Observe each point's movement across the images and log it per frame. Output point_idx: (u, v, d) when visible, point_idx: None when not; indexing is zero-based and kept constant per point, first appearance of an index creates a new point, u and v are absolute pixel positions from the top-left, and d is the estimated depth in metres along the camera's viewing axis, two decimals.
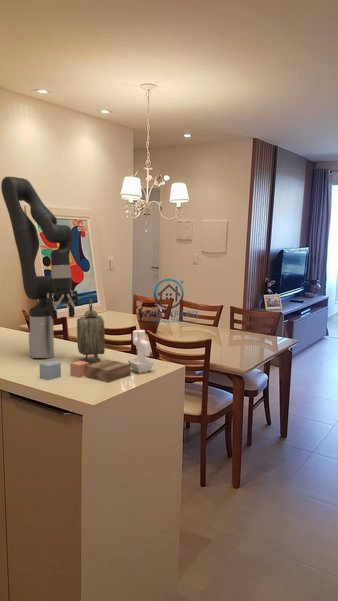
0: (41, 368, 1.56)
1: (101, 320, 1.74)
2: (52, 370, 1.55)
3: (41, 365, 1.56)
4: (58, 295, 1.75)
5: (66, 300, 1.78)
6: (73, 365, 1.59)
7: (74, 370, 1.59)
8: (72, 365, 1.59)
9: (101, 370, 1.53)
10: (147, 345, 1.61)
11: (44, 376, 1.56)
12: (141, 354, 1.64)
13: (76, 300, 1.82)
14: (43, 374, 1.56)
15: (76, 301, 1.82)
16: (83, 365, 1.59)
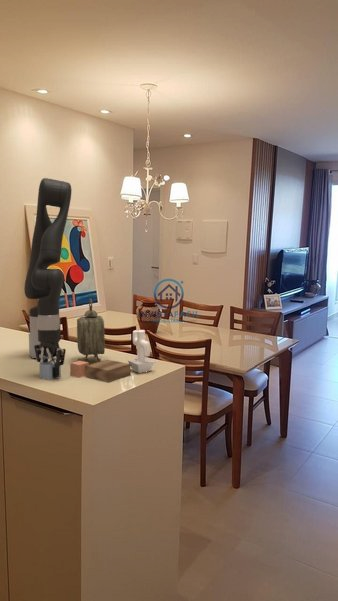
0: (41, 368, 1.56)
1: (101, 320, 1.74)
2: None
3: (41, 365, 1.56)
4: None
5: None
6: (73, 365, 1.59)
7: (74, 370, 1.59)
8: (72, 365, 1.59)
9: (101, 370, 1.53)
10: (147, 345, 1.61)
11: (44, 376, 1.56)
12: (141, 354, 1.64)
13: None
14: (43, 374, 1.56)
15: None
16: (83, 365, 1.59)
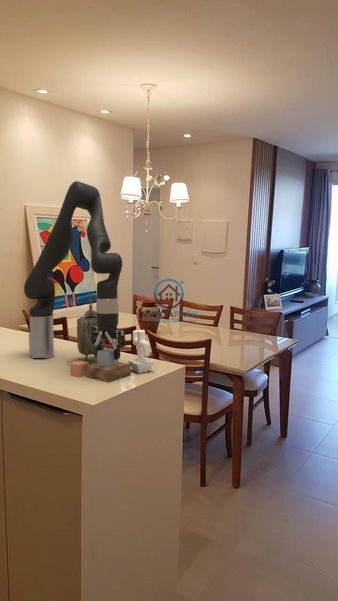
0: (99, 355, 1.57)
1: None
2: (111, 357, 1.56)
3: (99, 352, 1.57)
4: None
5: None
6: (73, 365, 1.59)
7: (74, 370, 1.59)
8: (72, 365, 1.59)
9: (101, 370, 1.53)
10: (147, 345, 1.61)
11: (102, 363, 1.57)
12: (141, 354, 1.64)
13: None
14: (101, 361, 1.57)
15: None
16: (83, 365, 1.59)
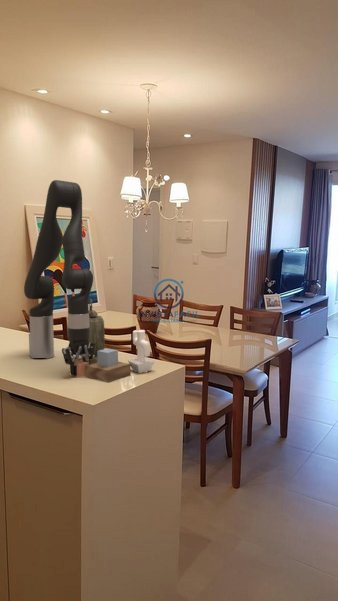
0: (99, 355, 1.57)
1: (101, 320, 1.74)
2: (111, 357, 1.56)
3: (99, 352, 1.57)
4: None
5: None
6: None
7: None
8: None
9: (101, 370, 1.53)
10: (147, 345, 1.61)
11: (102, 363, 1.57)
12: (141, 354, 1.64)
13: None
14: (101, 361, 1.57)
15: None
16: (83, 365, 1.59)
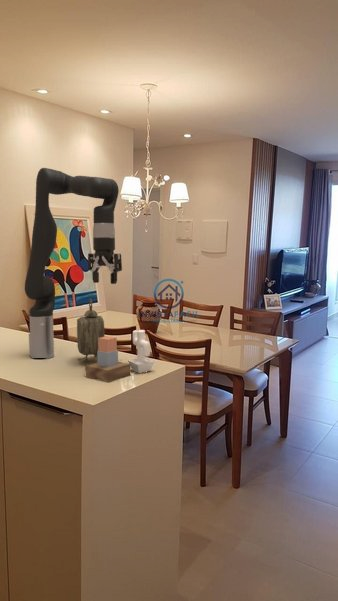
0: (99, 355, 1.57)
1: (101, 320, 1.74)
2: (111, 357, 1.56)
3: (99, 352, 1.57)
4: None
5: None
6: None
7: None
8: None
9: (101, 370, 1.53)
10: (147, 345, 1.61)
11: (102, 363, 1.57)
12: (141, 354, 1.64)
13: None
14: (101, 361, 1.57)
15: None
16: (102, 340, 1.56)
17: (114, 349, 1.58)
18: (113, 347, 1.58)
